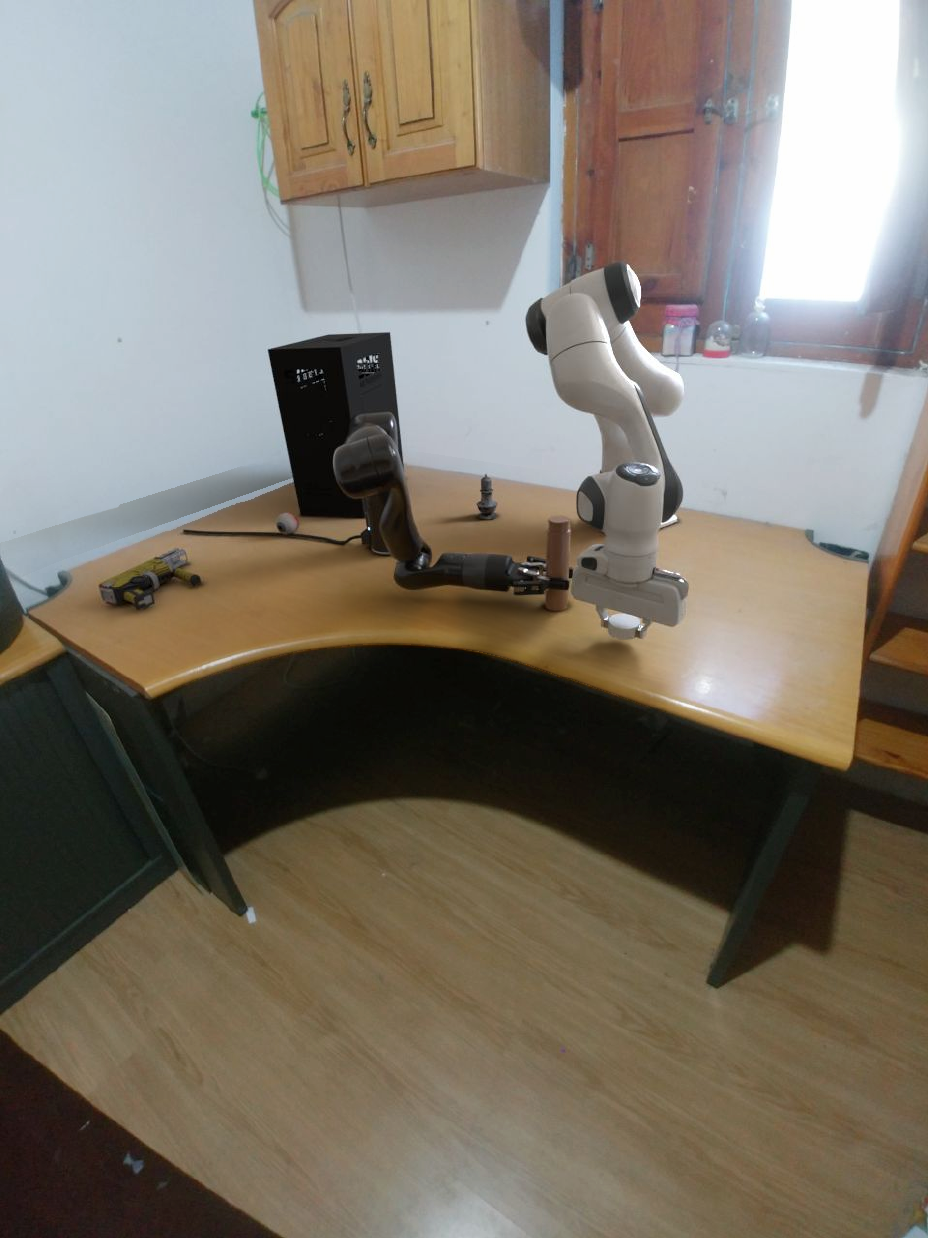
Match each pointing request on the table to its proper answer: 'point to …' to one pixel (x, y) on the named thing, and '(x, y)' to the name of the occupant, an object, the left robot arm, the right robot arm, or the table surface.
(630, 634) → the lid
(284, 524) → the eyeball
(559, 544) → the tan cylinder
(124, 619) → the table surface
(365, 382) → the cardboard box
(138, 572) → the toy gun
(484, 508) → the grey stone chess piece
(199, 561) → the table surface
